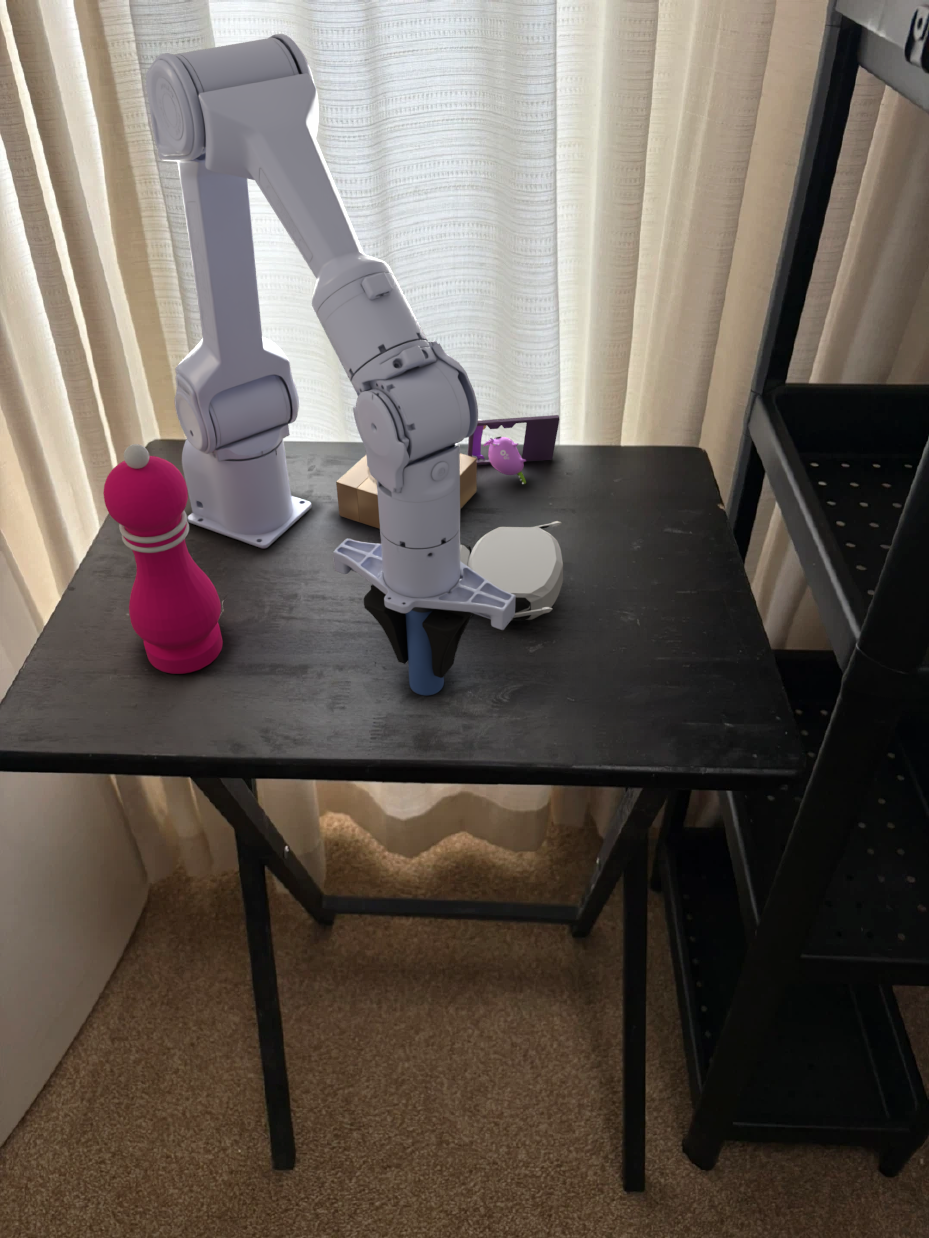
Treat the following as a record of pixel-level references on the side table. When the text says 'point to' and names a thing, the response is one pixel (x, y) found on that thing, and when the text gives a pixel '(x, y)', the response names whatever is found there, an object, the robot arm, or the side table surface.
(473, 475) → the holder
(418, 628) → the blue domed cylinder
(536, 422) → the purple toy with frame
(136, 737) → the side table surface
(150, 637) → the pepper mill
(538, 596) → the robot toy
